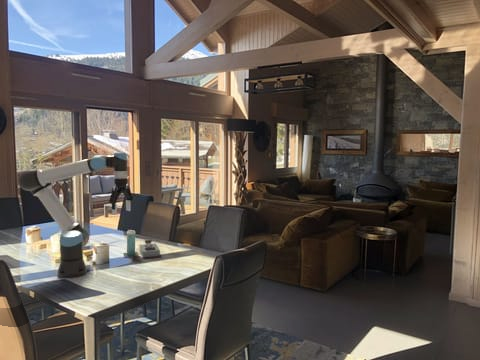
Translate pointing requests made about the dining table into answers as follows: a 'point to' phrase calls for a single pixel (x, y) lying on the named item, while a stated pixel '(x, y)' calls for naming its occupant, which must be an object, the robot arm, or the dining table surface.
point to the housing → (149, 251)
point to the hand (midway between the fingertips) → (121, 212)
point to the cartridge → (130, 242)
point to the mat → (130, 256)
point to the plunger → (148, 242)
